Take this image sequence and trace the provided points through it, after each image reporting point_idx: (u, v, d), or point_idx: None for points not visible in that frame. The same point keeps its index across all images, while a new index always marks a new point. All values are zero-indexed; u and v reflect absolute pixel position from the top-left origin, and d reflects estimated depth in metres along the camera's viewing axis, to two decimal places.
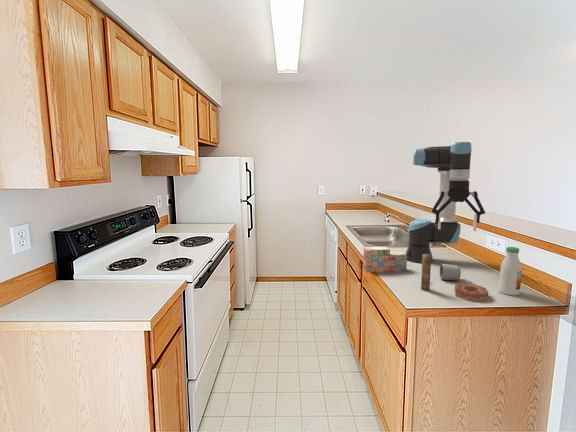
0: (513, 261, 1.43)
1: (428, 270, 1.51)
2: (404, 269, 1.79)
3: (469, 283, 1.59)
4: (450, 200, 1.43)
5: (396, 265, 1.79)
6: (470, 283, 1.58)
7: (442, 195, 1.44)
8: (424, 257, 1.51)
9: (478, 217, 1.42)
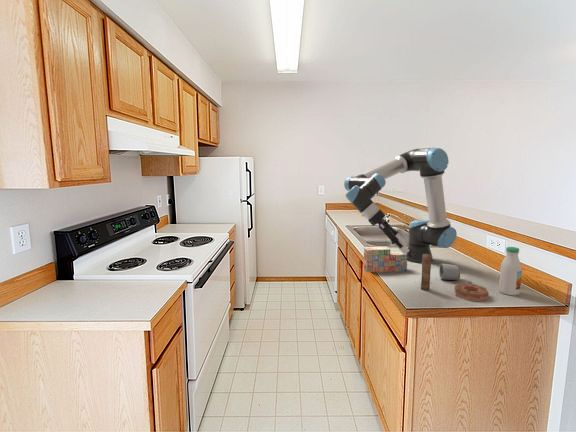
0: (513, 261, 1.43)
1: (428, 270, 1.51)
2: (404, 269, 1.79)
3: (469, 283, 1.59)
4: None
5: (397, 265, 1.79)
6: (470, 283, 1.58)
7: None
8: (424, 257, 1.51)
9: (396, 244, 1.47)
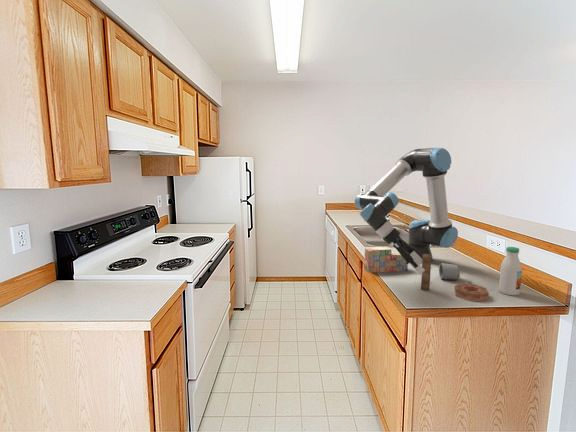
0: (513, 261, 1.43)
1: (428, 270, 1.51)
2: (405, 269, 1.79)
3: (469, 283, 1.59)
4: None
5: (398, 265, 1.79)
6: (470, 283, 1.58)
7: None
8: (424, 257, 1.51)
9: None
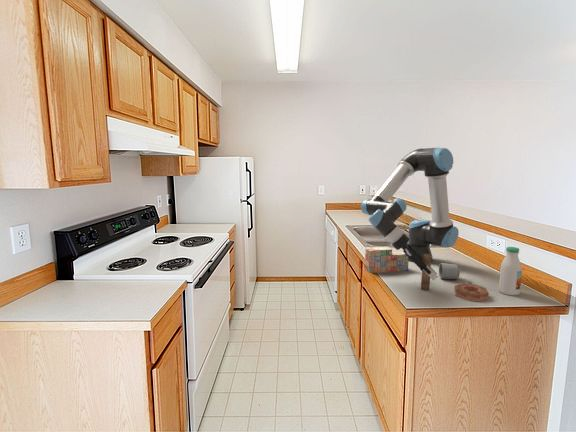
0: (513, 261, 1.43)
1: None
2: (406, 269, 1.80)
3: (469, 283, 1.59)
4: None
5: (398, 265, 1.79)
6: (470, 283, 1.58)
7: None
8: (424, 257, 1.51)
9: None
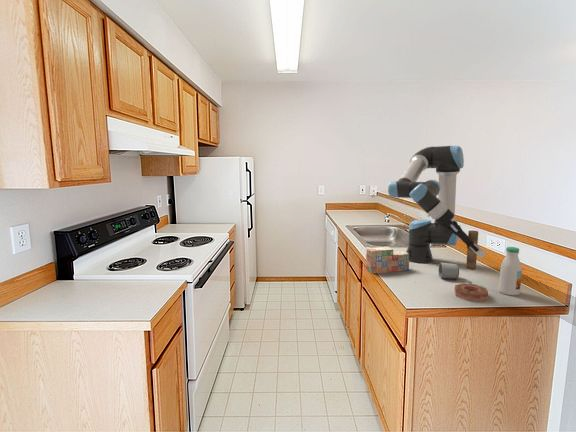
0: (513, 261, 1.43)
1: None
2: (407, 269, 1.80)
3: (469, 283, 1.59)
4: None
5: (399, 265, 1.79)
6: (470, 283, 1.58)
7: None
8: (471, 234, 1.41)
9: (472, 247, 1.40)
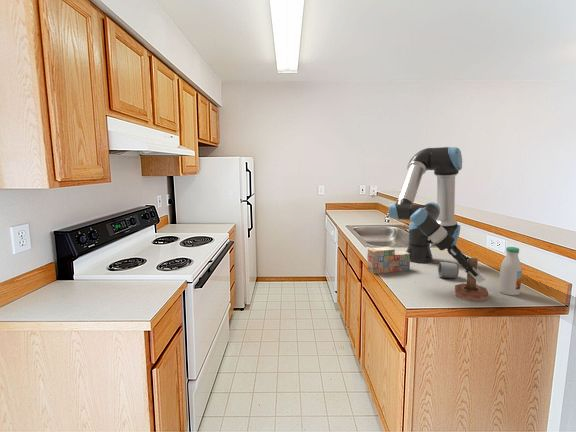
0: (513, 261, 1.43)
1: None
2: (407, 268, 1.80)
3: None
4: None
5: (401, 265, 1.79)
6: None
7: None
8: (470, 261, 1.43)
9: (470, 272, 1.39)
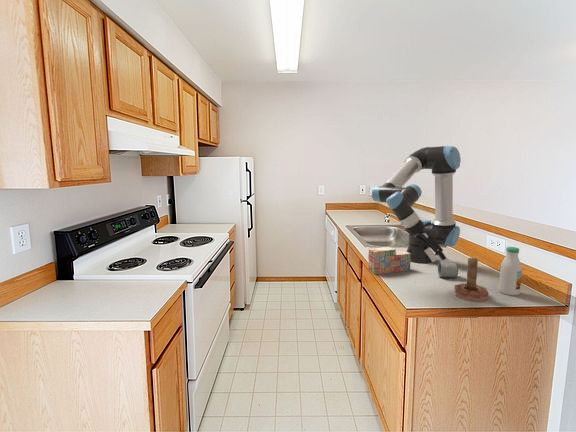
0: (513, 261, 1.43)
1: (474, 275, 1.43)
2: (408, 268, 1.81)
3: None
4: (418, 241, 1.53)
5: (401, 265, 1.79)
6: None
7: (414, 236, 1.56)
8: (470, 261, 1.43)
9: (439, 255, 1.42)
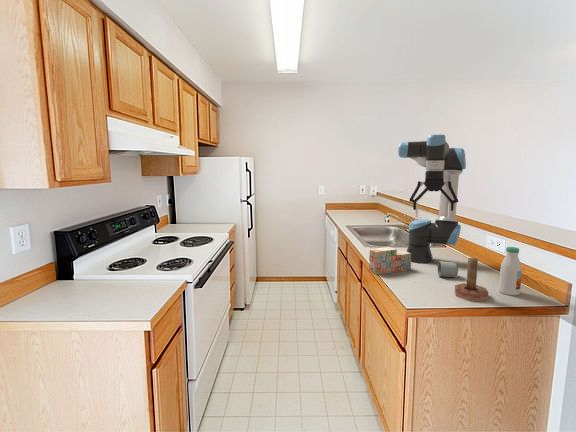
0: (513, 261, 1.43)
1: (474, 275, 1.43)
2: (409, 268, 1.81)
3: None
4: (426, 189, 1.52)
5: (402, 265, 1.79)
6: None
7: (419, 185, 1.54)
8: (470, 261, 1.43)
9: (452, 205, 1.51)
